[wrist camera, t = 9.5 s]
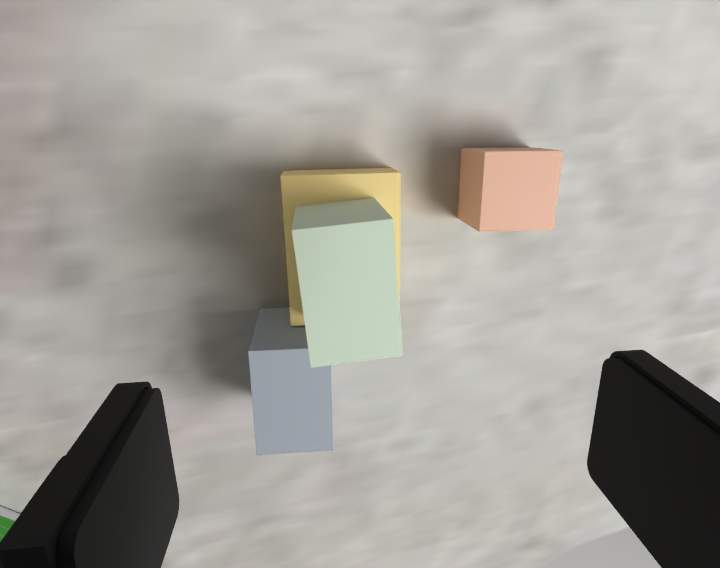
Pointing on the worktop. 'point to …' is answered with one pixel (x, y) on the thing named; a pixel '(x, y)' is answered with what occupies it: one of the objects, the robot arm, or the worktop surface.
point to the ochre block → (334, 188)
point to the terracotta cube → (509, 188)
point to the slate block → (287, 388)
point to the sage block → (348, 281)
